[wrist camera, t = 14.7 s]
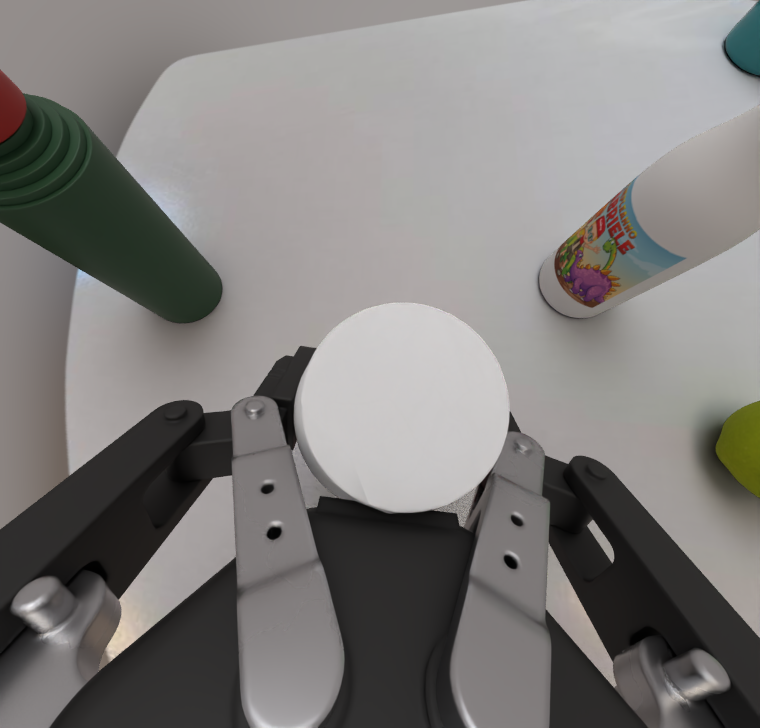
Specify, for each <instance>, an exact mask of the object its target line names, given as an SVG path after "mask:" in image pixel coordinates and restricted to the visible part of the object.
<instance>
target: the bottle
mask: <svg viewBox="0 0 760 728" xmlns="http://www.w3.org/2000/svg"><path fill="white" fill-rule="evenodd" d="M22 94H23V93H22ZM23 95H24V97H25V100H26V106H27V109H26V115H25V118H24V120H23V122H22V124H21V125H20V127H19V128H18V129H17V130H16V132H15V133H13V134H12V135H11V136H10V137H9V138H7V139H6V140H5V141H3V142H1V143H0V223H2V224H4V225H6V226H7V227H9V228H11V229H12V230H14V231H16V232H17V233H19V234H21V235H22V236H24V237H26V238H28V239H29V240H31V241H33V242H34V243H36V244H38V245H40V246H41V247H43V248H45V249H46V250H48V251H50V252H52V253H53V254H55V255H57V256H59V257H60V258H62V259H63V260H65V261H67V262H69V263H70V264H72V265H74V266H75V267H77V268H79V269H80V270H82V271H84V272H86V273H87V274H89V275H91V276H92V277H94V278H96V279H97V280H99V281H101V282H103V283H104V284H106V285H108V286H109V287H111V288H113V289H115V290H116V291H118V292H120V293H121V294H123V295H125V296H126V297H128V298H130V299H132V300H133V301H135V302H137V303H138V304H140V305H142V306H144V307H145V308H147V309H149V310H150V311H152V312H154V313H155V314H157V315H159V316H161V317H162V318H164V319H166V320H168V321H171V322H176V323H189V322H194V321H197V320H199V319H201V318H203V317H205V316H207V315H208V314H209V313H210V312H212V311H213V309H214V308H215V307H216V306H217V304H218V302H219V300H220V298H221V294H222V283H221V279H220V277H219V275H218V273H217V272H216V271H215V270H214V269H213V267H212V266H211V265H210V264H209V263H208V262H207V261H206V259H205V258H204V257H203V256H202V255H201V254H200V253H199V252H198V250H197V249H196V248H195V247H194V246H193V245H192V244H191V242H190V241H189V240H188V239H187V238H186V237H185V236H184V235H183V233H182V232H181V231H180V230H179V229H178V228H177V227H176V225H175V224H174V223H173V222H172V221H171V220H170V219H169V218H168V216H167V215H166V214H165V213H164V212H163V211H162V210H161V208H160V207H159V206H158V205H157V204H156V203H155V202H154V201H153V199H152V198H151V197H150V196H149V195H148V194H147V193H146V191H145V190H144V189H143V188H142V187H141V186H140V185H139V184H138V182H137V181H136V180H135V179H134V178H133V177H132V176H131V174H130V173H129V172H128V171H127V170H126V169H125V168H124V167H123V165H122V164H121V163H120V162H119V161H118V160H117V159H116V157H115V156H114V155H113V154H112V153H111V152H110V151H109V149H107V147H106V146H105V145H104V144H103V143H102V142H101V140H100V139H99V138H98V137H97V136H96V135H95V134H94V132H92V130H91V129H90V128H89V127H88V126H87V125H86V123H85V122H84V121H83V120H82V119H81V118H79V116H78V115H77V114H75V113H74V112H72V111H71V110H69V109H67V108H65V107H63V106H61V105H59V104H58V103H56V102H54V101H52V100H49V99H46V98H43V97H39V96H34V95H28V94H23Z"/></svg>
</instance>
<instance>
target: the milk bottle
mask: <svg viewBox="0 0 760 728" xmlns="http://www.w3.org/2000/svg"><path fill="white" fill-rule="evenodd" d="M759 229H760V105H758V106H756V107H755V108H753V109H751V110H749V111H747V112H745V113H743V114H741V115H739V116H737V117H735V118H733V119H731V120H729V121H727V122H725V123H723V124H721V125H718V126H716V127H714V128H712V129H710V130H708V131H705V132H703V133H701V134H699V135H697V136H695V137H693V138H691V139H690V140H688V141H686V142H684V143H683V144H681V145H679V146H677V147H676V148H674V149H673V150H671V151H670V152H668V153H667V154H665V155H664V156H663V157H661V158H660V159H659V160H657V161H656V162H655V163H653V164H652V165H651V166H649V167H648V168H647V169H646V170H645V171H643V172H642V173H641V174H640V175H639V176H638V177H636V178H635V179H634V180H633V181H632V182H631V183H629V184H628V185H627V186H626V187H625V188H624V189H623V190H621V191H620V192H619V193H618V194H617V195H616V196H615V197H614V198H613V199H611V200H610V201H609V202H608V203H607V204H606V205H605V206H604V207H603V208H601V209H600V210H599V211H598V212H597V213H596V214H595V215H594V216H593V217H591V218H590V219H589V220H588V221H587V222H586V223H585V224H584V225H583V226H582V227H581V228H579V229H578V230H577V231H576V232H575V233H574V234H573V235H572V236H571V237H570V238H568V239H567V240H566V241H565V242H564V243H563V244H562V245H561V246H560V247H559V248H558V249H557V250H555V251H554V252H553V253H552V254H551V255H550V256H549V257H548V258H547V259H546V261H545V262H544V263H543V265H542V268H541V271H540V275H539V283H540V289H541V291H542V294H543V296H544V298H545V299H546V301H547V302H548V303H549V304H550V305H551V306H552V307H553V308H554V309H555V310H557V311H558V312H560V313H562V314H564V315H566V316H569V317H574V318H589V317H593V316H596V315H598V314H600V313H602V312H605V311H607V310H609V309H611V308H613V307H615V306H617V305H619V304H621V303H623V302H625V301H627V300H629V299H631V298H633V297H635V296H637V295H640V294H642V293H644V292H646V291H648V290H650V289H652V288H654V287H656V286H658V285H660V284H662V283H664V282H666V281H668V280H670V279H672V278H674V277H676V276H678V275H680V274H682V273H684V272H686V271H688V270H690V269H692V268H694V267H696V266H698V265H700V264H702V263H704V262H706V261H708V260H710V259H711V258H713V257H715V256H717V255H719V254H721V253H723V252H725V251H727V250H729V249H730V248H732V247H734V246H735V245H737V244H739V243H740V242H742V241H743V240H745V239H747V238H748V237H750V236H751V235H752V234H754V233H755V232H757V231H758V230H759Z"/></svg>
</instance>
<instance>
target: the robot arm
mask: <svg viewBox="0 0 760 728" xmlns="http://www.w3.org/2000/svg"><path fill="white" fill-rule="evenodd" d="M316 349H317V348H311V347H304V346H300V347H299V349H298V350H297V352H296V354H295V355H294V357H293V356H284V357H283V358H281V359H279V360H278V361H276V363H275V364H274V366H273V367H272V370H270V372H269V373H268V376H266V378H265V379H264V381H263V382H262V384H261V385H260V387H259V388H258V390H257V391H256V393H255V394H254V396H251V397H247V398H244V399H242V400H240V401H238V402H237V403H236V404H235V405H234V406H233V407H232V410H230V411H223V412H211V413H203V409H202V406H201V405H200V404H198V403H196V402H194V401H189V400H181V401H174V402H170V403H167V404H165V405H162V406H160V407H158V408H157V409H155V410H154V411H153V412H151V413H150V414H149V415H148V416H146V417H145V418H144V419H142V420H141V421H140V422H139V423H137V424H136V425H135V426H133V427H132V428H131V429H130V430H128V431H127V432H126V433H124V434H123V435H122V436H121V437H119V438H118V439H117V440H115V441H114V442H113V443H111V444H110V445H109V446H108V447H106V448H105V449H104V450H102V451H101V452H100V453H99V454H97V455H96V456H95V457H93V458H92V459H91V460H90V461H88V462H87V463H86V464H84V465H83V466H82V467H80V468H79V469H78V470H77V471H75V472H74V473H73V474H71V475H70V476H69V477H68V478H66V479H65V480H64V481H63V482H61V483H60V484H59V485H57V486H56V487H55V488H53V489H52V490H51V491H50V492H48V493H47V494H46V495H44V496H43V497H42V498H40V499H39V500H38V501H37V502H35V503H34V504H33V505H31V506H30V507H29V508H28V509H26V510H25V511H24V512H22V513H21V514H20V515H19V516H17V517H16V518H15V519H14V520H12V521H11V522H10V523H8V524H7V525H6V526H4V527H3V528H2V529H0V728H760V638H759V637H758V636H757V635H756V633H755V632H754V631H753V630H752V629H751V628H750V627H749V626H748V624H747V623H746V622H745V621H744V620H743V619H742V618H741V616H740V615H739V614H738V613H737V612H736V611H735V610H734V609H733V607H732V606H731V605H730V604H729V603H728V602H727V601H726V600H725V598H724V597H723V596H722V595H721V594H720V593H719V592H718V590H717V589H716V588H715V587H714V586H713V585H712V584H711V583H710V581H709V580H708V579H707V578H706V577H705V576H704V575H703V574H702V572H701V571H700V570H699V569H698V568H697V567H696V566H695V565H694V563H693V562H692V561H691V560H690V559H689V558H688V557H687V555H686V554H685V553H684V552H683V551H682V550H681V549H680V548H679V546H678V545H677V544H676V543H675V542H674V541H673V540H672V539H671V537H670V536H669V535H668V534H667V533H666V532H665V531H664V529H663V528H662V527H661V526H660V525H659V524H658V523H657V522H656V520H655V519H654V518H653V517H652V516H651V515H650V514H649V513H648V511H647V510H646V509H645V508H644V507H643V506H642V505H641V504H640V502H639V501H638V500H637V499H636V498H635V497H634V496H633V494H632V493H631V492H630V491H629V490H628V489H627V488H626V487H625V485H624V484H623V483H622V482H621V481H620V480H619V479H618V478H617V476H616V475H615V474H614V473H613V472H612V471H611V470H610V469H609V468H607V467H606V466H605V465H603V464H602V463H600V462H598V461H597V460H594V459H592V458H589V457H586V456H575V457H573V458H572V460H571V461H570V463H569V464H566V463H564V462H561V461H558V460H556V459H553V458H550V457H548V456H545V453H544V450H543V449H542V447H541V446H540V445H539V444H538V443H537V442H536V441H535V440H534V439H532V438H531V437H529V436H527V435H525V434H523V433H521V431H520V429H519V427H518V425H517V424H516V422H515V420H514V418H513V416H512V414H511V412H510V414H509V425H508V431H507V436H506V439H505V442H504V445H503V448H502V451H501V453H500V455H499V457H498V459H497V461H496V463H495V464H494V466H493V468H492V469H491V470H490V472H489V473H488V474H487V476H486V477H485V478H484V480H483V481H482V482H480V483H479V484H478V486H477V488H476V491H475V494H474V497H473V500H472V504H471V507H470V510H469V513H468V516H467V519H466V523H465V526H464V528H463V527H461V526H459V522H458V517H457V514H456V513H448V512H440V511H432V510H429V511H425V512H416V513H392V514H389V513H385V512H383V511H380V510H377V509H375V508H372V507H370V506H367V505H364V504H362V503H359V502H357V501H354V500H346V499H339V498H331V497H323V496H320V498H319V502H318V506H317V507H315V508H309V509H306V506H305V502H304V498H303V494H302V490H301V486H300V482H299V479H298V475H297V471H296V467H295V463H294V459H293V455H292V451H291V450H293V449H294V446H295V444H296V441H297V439H296V434H295V428H294V403H295V396H296V392H297V388H298V385H299V383H300V380H301V377H302V375H303V373H304V371H305V369H306V367H307V366H308V364H309V362H310V360H311V358H312V356H313V354H314V352H315V351H316ZM229 475H232V480H233V502H234V523H235V544H236V557H235V558H234V559H233V560H232V561H231V562H229V563H228V564H227V565H226V566H225V567H223V568H222V569H221V570H220V571H219V572H218V573H216V574H215V575H214V576H213V577H212V578H210V579H209V580H208V581H207V582H206V583H204V584H203V585H202V586H201V587H200V588H198V589H197V590H196V591H195V592H194V593H192V594H191V595H190V596H189V597H188V598H186V599H185V600H184V601H183V602H182V603H180V604H179V605H178V606H177V607H176V608H174V609H173V610H172V611H171V612H170V613H168V614H167V615H166V616H165V617H164V618H162V619H161V620H160V621H159V622H158V623H156V624H155V625H154V626H153V627H152V628H150V629H149V630H148V631H147V632H146V633H144V634H143V635H142V636H141V637H140V638H138V639H137V640H136V641H135V642H134V643H132V644H131V645H130V646H129V647H128V648H126V649H125V650H124V651H123V652H122V653H120V654H119V655H118V656H117V657H116V658H114V659H113V660H112V661H111V662H110V663H108V664H107V665H106V666H105V667H104V668H102V669H101V670H100V671H99V672H98V670H99V664H100V661H101V658H102V655H103V653H104V651H105V649H106V647H107V645H108V643H109V642H110V640H111V638H112V637H113V635H114V633H115V632H116V629H117V627H118V625H119V622H120V618H121V605H120V602H119V599H120V597H121V596H122V595H123V593H124V592H125V591H126V590H127V588H128V587H129V586H130V584H131V583H132V582H133V581H134V579H135V578H136V577H137V575H138V574H139V573H140V572H141V570H142V569H143V568H144V566H145V565H146V564H147V562H148V561H149V560H150V559H151V557H152V556H153V555H154V553H155V552H156V551H157V550H158V548H159V547H160V546H161V544H162V543H163V542H164V541H165V539H166V538H167V537H168V535H169V534H170V533H171V532H172V530H173V529H174V528H175V526H176V525H177V524H178V523H179V521H180V520H181V519H182V517H183V516H184V515H185V514H186V512H187V511H188V510H189V508H190V507H191V506H192V505H193V503H194V502H195V501H196V499H197V498H198V497H199V496H200V494H201V493H202V492H203V490H204V489H205V488H206V486H207V485H208V484H209V483H210V481H211V480H212V479H213V478H216V477H223V476H229ZM592 520H594V521H595V523H596V524H597V525H598V527H599V528H600V530H601V531H602V532H603V534H604V535H605V537H606V538H607V540H608V541H609V542H610V544H611V546H612V548H613V551H614V562H613V563H611V561H610V560H609V558H608V557H607V555H606V554H605V552H604V551H603V549H602V548H601V546H600V545H599V543H598V542H597V540H596V539H595V537H594V536H593V534H592V533H591V531H590V530H589V528H588V527H587V525H588V524H589V523H590V522H591V521H592ZM548 542H549V544H550V546H551V548H552V549H553V551H554V553H555V555H556V557H557V559H558V561H559V562H560V564H561V566H562V568H563V570H564V572H565V574H566V576H567V577H568V579H569V581H570V583H571V585H572V587H573V589H574V590H575V592H576V594H577V596H578V598H579V600H580V602H581V603H582V605H583V607H584V609H585V611H586V613H587V615H588V617H589V618H590V620H591V622H592V624H593V626H594V628H595V630H596V631H597V633H598V635H599V637H600V639H601V641H602V643H603V644H604V646H605V648H606V650H607V652H608V654H609V656H610V658H611V659H612V661H613V672H614V678H615V681H616V684H617V686H615V688H614V687H613V686H612V685H611V684H610V683H609V682H608V680H607V679H606V678H605V677H604V676H603V675H602V673H601V672H600V671H599V670H598V669H597V668H596V667H595V665H594V664H593V663H592V662H591V661H590V660H589V659H588V657H587V656H586V655H585V654H584V653H583V652H582V650H581V649H580V648H579V647H578V646H577V645H576V644H575V642H574V641H573V640H572V639H571V638H570V637H569V635H568V634H567V633H566V632H565V631H564V630H563V629H562V627H561V626H560V625H559V624H558V623H557V622H556V620H555V619H554V618H553V617H552V616H551V615H550V614H549V612H548V611H547V610H546V587H547V564H548Z"/></svg>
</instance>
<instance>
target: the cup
mask: <svg viewBox="0 0 760 728" xmlns="http://www.w3.org/2000/svg"><path fill="white" fill-rule="evenodd" d="M725 47H726V51H727V54H728V56H729V57H730V59H731V60H732V61H733V62H734V63H735V64H736V65H737V66H739V67H740V68H741V69H743V70H745V71H747V72H749V73H752V74H755V75H760V0H759V1H758V2H757V3H756V4H755V5H754V6H753V7H752V8H751V9H750V10H749V11H748V12H747V13H746V15H745V16H744V17H743V18H742V19H741V20H740V21H739V22H738V23H737V24H736V25H735V26H734V28H733V29H732V30H731V31H730V32H729V34H728V36H727V38H726V42H725Z"/></svg>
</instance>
